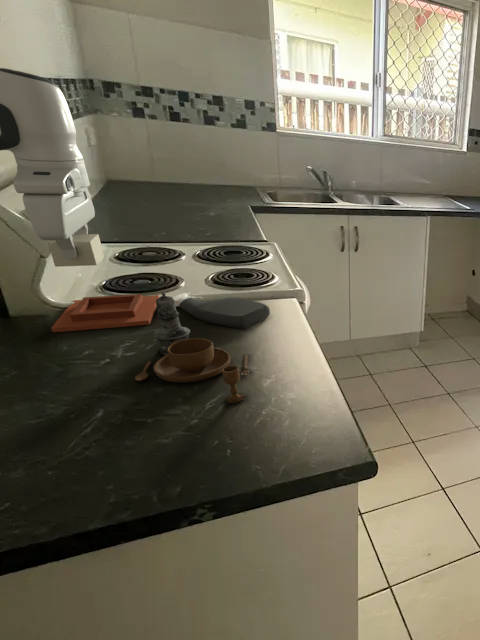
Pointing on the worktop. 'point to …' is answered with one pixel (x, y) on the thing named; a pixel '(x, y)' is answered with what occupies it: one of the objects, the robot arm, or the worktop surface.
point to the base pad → (107, 312)
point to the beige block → (79, 251)
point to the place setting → (197, 365)
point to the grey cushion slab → (224, 310)
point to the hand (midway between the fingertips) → (77, 252)
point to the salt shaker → (169, 324)
